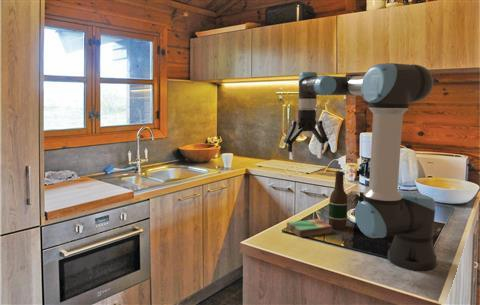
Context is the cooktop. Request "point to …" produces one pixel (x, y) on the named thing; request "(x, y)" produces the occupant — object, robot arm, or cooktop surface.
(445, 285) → the cooktop surface
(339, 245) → the cooktop surface
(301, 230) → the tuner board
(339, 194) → the beer bottle
